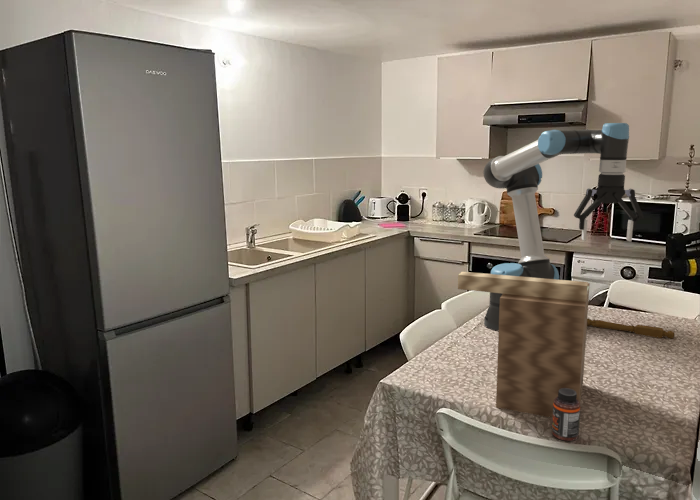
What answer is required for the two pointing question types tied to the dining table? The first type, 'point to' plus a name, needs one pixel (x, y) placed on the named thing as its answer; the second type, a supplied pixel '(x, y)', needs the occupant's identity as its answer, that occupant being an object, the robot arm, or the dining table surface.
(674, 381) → the dining table surface
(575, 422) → the supplement bottle
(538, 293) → the beech bar
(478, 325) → the dining table surface
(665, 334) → the wooden spindle
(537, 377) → the brown wavy patterned box
